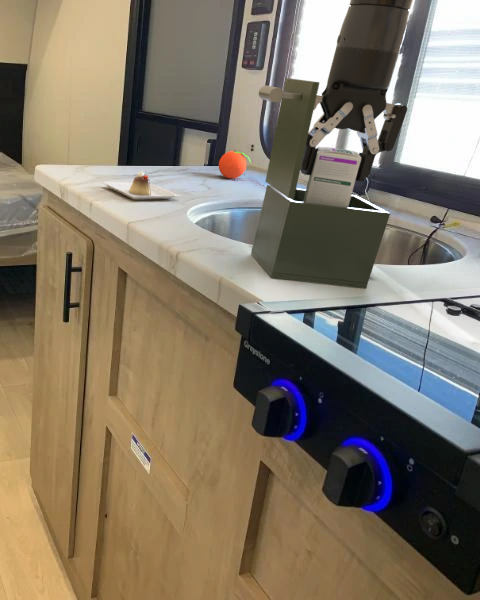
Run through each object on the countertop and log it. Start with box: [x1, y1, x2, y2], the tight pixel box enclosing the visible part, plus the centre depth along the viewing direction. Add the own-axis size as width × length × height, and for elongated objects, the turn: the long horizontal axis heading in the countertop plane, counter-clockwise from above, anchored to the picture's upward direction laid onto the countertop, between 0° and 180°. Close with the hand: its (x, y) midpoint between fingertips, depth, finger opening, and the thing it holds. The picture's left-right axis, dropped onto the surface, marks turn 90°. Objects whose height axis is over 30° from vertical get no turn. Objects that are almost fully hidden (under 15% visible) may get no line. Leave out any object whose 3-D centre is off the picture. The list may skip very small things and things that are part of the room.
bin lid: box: [258, 77, 320, 198], centre depth 81 cm, size 14×11×5 cm
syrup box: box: [303, 146, 361, 207], centre depth 84 cm, size 6×6×14 cm
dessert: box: [101, 170, 181, 201], centre depth 123 cm, size 12×12×5 cm
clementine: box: [218, 150, 252, 180], centre depth 153 cm, size 8×7×7 cm
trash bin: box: [250, 184, 391, 289], centre depth 86 cm, size 14×11×11 cm
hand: (331, 177), depth 82 cm, fingers closed on syrup box, 7 cm apart
